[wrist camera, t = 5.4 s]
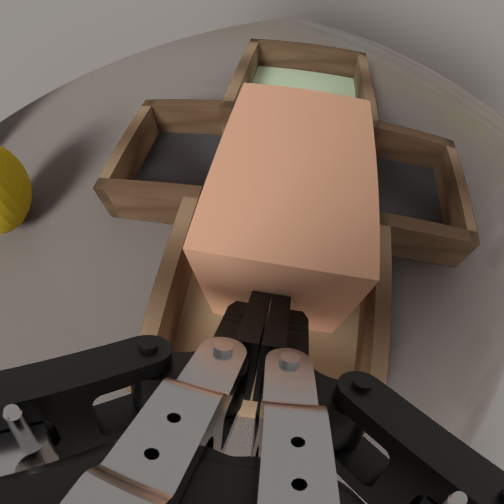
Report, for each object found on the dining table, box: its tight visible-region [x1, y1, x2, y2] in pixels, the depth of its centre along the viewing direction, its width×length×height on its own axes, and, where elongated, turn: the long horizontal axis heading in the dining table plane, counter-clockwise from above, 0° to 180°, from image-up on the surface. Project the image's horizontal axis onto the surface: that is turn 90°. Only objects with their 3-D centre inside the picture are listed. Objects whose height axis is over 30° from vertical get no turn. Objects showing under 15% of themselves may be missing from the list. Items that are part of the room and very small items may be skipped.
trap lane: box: [93, 39, 480, 433], centre depth 19 cm, size 29×22×3 cm
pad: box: [252, 66, 356, 98], centre depth 24 cm, size 10×9×1 cm
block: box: [183, 83, 380, 333], centre depth 14 cm, size 9×6×7 cm, turn 169°
